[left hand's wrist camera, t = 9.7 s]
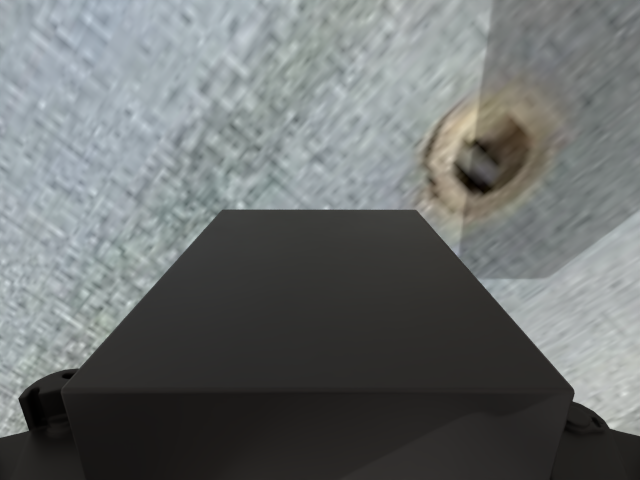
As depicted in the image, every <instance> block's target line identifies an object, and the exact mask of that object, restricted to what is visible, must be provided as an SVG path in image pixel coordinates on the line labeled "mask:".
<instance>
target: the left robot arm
mask: <svg viewBox="0 0 640 480" xmlns="http://www.w3.org/2000/svg"><path fill="white" fill-rule="evenodd" d="M78 370H79V369H68V370H63V371H59V372H56V373H53V374H50V375H48V376H46V377H44V378H42V379H40V380H38V381H36V382H35V383H33V384H32V385H31V386H29V387H28V388H27V389H25V391H24V392H23V393H22V394H21V396H20V397H19V398H18V399H19V402H20V405H21V408H22V411H23V414H24V417H25V420H26V423H27V426H28V428H29V431H27V432H23V433H19V434H15V435H11V436H6V437H2V438H0V480H86V479H85V476H84V472H83V469H82V465H81V462H80V458H79V455H78V451H77V448H76V444H75V441H74V437H73V434H72V430H71V427H70V423H69V420H68V416H67V413H66V409H65V406H64V403H63V399H62V396H61V389H62V387H63V386H64V385H65V384H66V383H67V382H68V381H69V380H70V379H71V377H72V376H73V375H74V374H75V373H76V372H77V371H78ZM550 480H640V436H637V435H632V434H628V433H624V432H620V431H616V430H612V429H610V428H609V427H608V425H607V424H606V422H605V421H604V420H603V419H602V418H601V417H600V416H598V415H597V414H596V413H595V412H594V411H592V410H590V409H588V408H587V407H585V406H583V405H581V404H579V403H576V402H573V401H572V404H571V408H570V411H569V415H568V418H567V422H566V425H565V429H564V432H563V436H562V439H561V443H560V447H559V450H558V454H557V457H556V461H555V464H554V468H553V471H552V475H551V478H550Z"/></svg>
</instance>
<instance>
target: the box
mask: <svg viewBox="0 0 640 480" xmlns="http://www.w3.org/2000/svg"><path fill="white" fill-rule="evenodd" d="M574 394H575V393H574V389H573V388H572V386H571V385H570V384H569V383H568V382H567V381H566V380H565V379H564V377H563V376H562V375H561V374H560V373H559V372H558V371H557V369H556V368H555V367H554V366H553V365H552V364H551V363H550V361H549V360H548V359H547V358H546V357H545V356H544V355H543V354H542V352H541V351H540V350H539V349H538V348H537V347H536V346H535V344H534V343H533V342H532V341H531V340H530V339H529V338H528V336H527V335H526V334H525V333H524V332H523V331H522V330H521V328H520V327H519V326H518V325H517V324H516V323H515V322H514V321H513V319H512V318H511V317H510V316H509V315H508V314H507V313H506V311H505V310H504V309H503V308H502V307H501V306H500V305H499V303H498V302H497V301H496V300H495V299H494V298H493V297H492V296H491V294H490V293H489V292H488V291H487V290H486V289H485V288H484V286H483V285H482V284H481V283H480V282H479V281H478V280H477V278H476V277H475V276H474V275H473V274H472V273H471V272H470V270H469V269H468V268H467V267H466V266H465V265H464V264H463V263H462V261H461V260H460V259H459V258H458V257H457V256H456V255H455V253H454V252H453V251H452V250H451V249H450V248H449V247H448V245H447V244H446V243H445V242H444V241H443V240H442V239H441V238H440V236H439V235H438V234H437V233H436V232H435V231H434V230H433V228H432V227H431V226H430V225H429V224H428V223H427V222H426V220H425V219H424V218H423V217H422V216H421V215H420V214H419V212H418V211H417V210H222V211H221V212H220V213H219V214H218V215H217V216H216V217H215V218H214V219H213V221H212V222H211V223H210V224H209V225H208V226H207V227H206V228H205V229H204V231H203V232H202V233H201V234H200V235H199V236H198V237H197V238H196V239H195V241H194V242H193V243H192V244H191V245H190V246H189V247H188V248H187V250H186V251H185V252H184V253H183V254H182V255H181V256H180V257H179V258H178V260H177V261H176V262H175V263H174V264H173V265H172V266H171V267H170V268H169V270H168V271H167V272H166V273H165V274H164V275H163V276H162V277H161V278H160V280H159V281H158V282H157V283H156V284H155V285H154V286H153V287H152V288H151V290H150V291H149V292H148V293H147V294H146V295H145V296H144V297H143V298H142V300H141V301H140V302H139V303H138V304H137V305H136V306H135V307H134V308H133V310H132V311H131V312H130V313H129V314H128V315H127V316H126V317H125V318H124V320H123V321H122V322H121V323H120V324H119V325H118V326H117V327H116V329H115V330H114V331H113V332H112V333H111V334H110V335H109V336H108V337H107V339H106V340H105V341H104V342H103V343H102V344H101V345H100V346H99V347H98V349H97V350H96V351H95V352H94V353H93V354H92V355H91V356H90V357H89V359H88V360H87V361H86V362H85V363H84V364H83V365H82V366H81V367H80V369H79V370H78V371H77V372H76V373H75V374H74V375H73V376H72V377H71V379H70V380H69V381H68V382H67V383H66V384H65V385H64V386H63V387H62V389H61V396H62V399H63V403H64V406H65V409H66V413H67V416H68V420H69V423H70V427H71V430H72V434H73V437H74V441H75V444H76V448H77V451H78V455H79V458H80V462H81V465H82V469H83V472H84V476H85V479H86V480H550V478H551V475H552V471H553V468H554V464H555V461H556V457H557V454H558V450H559V447H560V443H561V439H562V436H563V432H564V429H565V425H566V422H567V418H568V415H569V411H570V408H571V404H572V401H573V397H574Z"/></svg>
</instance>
